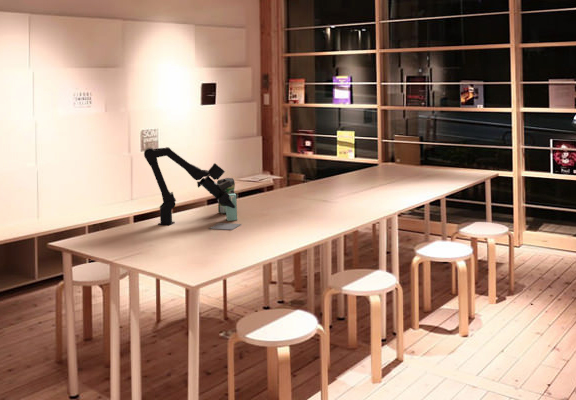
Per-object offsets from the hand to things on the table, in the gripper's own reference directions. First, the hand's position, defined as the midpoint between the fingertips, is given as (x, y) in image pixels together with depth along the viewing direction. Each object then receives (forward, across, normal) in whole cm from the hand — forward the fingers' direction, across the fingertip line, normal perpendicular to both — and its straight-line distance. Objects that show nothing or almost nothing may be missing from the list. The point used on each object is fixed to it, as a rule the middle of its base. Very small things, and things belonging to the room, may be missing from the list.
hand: (234, 206), depth 359 cm
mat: (0, -16, +10) cm, 19 cm away
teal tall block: (+4, 0, +6) cm, 7 cm away
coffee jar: (+4, +19, +6) cm, 20 cm away
